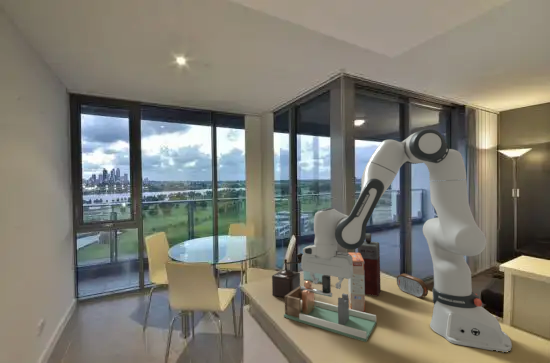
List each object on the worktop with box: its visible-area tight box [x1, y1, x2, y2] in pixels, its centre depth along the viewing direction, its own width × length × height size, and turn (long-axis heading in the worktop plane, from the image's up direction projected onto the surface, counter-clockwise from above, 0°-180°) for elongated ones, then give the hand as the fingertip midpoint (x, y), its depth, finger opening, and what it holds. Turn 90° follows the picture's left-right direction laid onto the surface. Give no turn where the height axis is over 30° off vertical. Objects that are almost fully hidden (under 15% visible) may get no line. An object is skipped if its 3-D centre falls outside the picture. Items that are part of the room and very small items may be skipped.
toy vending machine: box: [357, 232, 382, 297], centre depth 131 cm, size 9×11×28 cm
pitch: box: [283, 292, 377, 343], centre depth 103 cm, size 32×14×10 cm, turn 56°
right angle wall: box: [302, 270, 323, 284], centre depth 150 cm, size 12×12×8 cm
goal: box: [284, 285, 302, 318], centre depth 110 cm, size 7×12×7 cm, turn 146°
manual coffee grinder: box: [271, 252, 304, 299], centre depth 132 cm, size 16×11×18 cm
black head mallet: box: [300, 275, 333, 315], centre depth 106 cm, size 13×6×15 cm, turn 56°
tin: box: [396, 273, 429, 299], centre depth 126 cm, size 15×3×8 cm, turn 25°
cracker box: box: [347, 251, 366, 313], centre depth 116 cm, size 14×6×21 cm, turn 168°
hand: (326, 285), depth 104 cm, fingers open, 8 cm apart
